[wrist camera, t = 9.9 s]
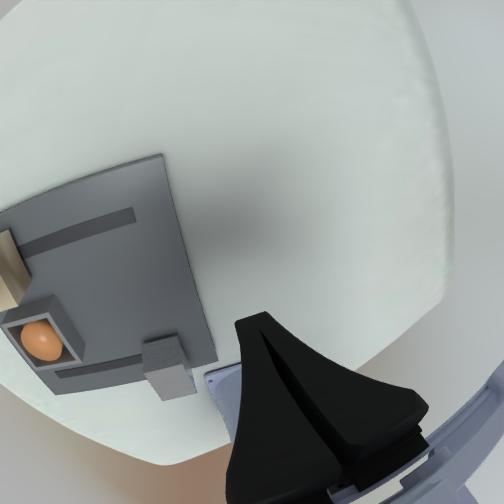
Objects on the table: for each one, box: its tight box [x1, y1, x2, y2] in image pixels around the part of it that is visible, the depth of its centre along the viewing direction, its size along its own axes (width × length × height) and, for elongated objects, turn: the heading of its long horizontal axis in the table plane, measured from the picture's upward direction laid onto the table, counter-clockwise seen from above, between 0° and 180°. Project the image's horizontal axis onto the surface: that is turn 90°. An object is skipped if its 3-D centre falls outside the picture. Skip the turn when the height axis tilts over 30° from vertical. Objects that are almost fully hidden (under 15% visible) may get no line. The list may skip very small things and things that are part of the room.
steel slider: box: [142, 336, 197, 401], centre depth 20 cm, size 4×3×3 cm
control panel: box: [0, 154, 219, 395], centre depth 18 cm, size 18×18×4 cm
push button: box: [21, 318, 63, 361], centre depth 16 cm, size 4×4×2 cm
